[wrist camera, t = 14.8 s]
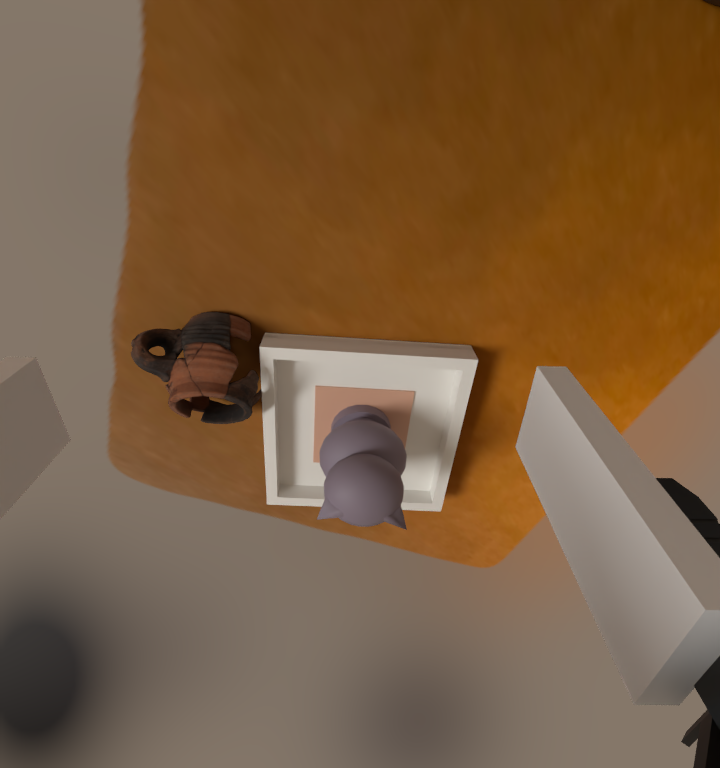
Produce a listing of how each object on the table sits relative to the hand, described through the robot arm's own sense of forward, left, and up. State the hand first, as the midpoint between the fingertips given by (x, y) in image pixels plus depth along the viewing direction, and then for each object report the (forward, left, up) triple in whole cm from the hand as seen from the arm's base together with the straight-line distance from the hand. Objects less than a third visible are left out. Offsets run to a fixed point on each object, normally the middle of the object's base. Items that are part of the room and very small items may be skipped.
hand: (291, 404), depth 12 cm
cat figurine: (-4, +21, -27) cm, 35 cm away
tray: (-4, +21, -28) cm, 36 cm away
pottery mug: (+11, +14, -29) cm, 34 cm away
